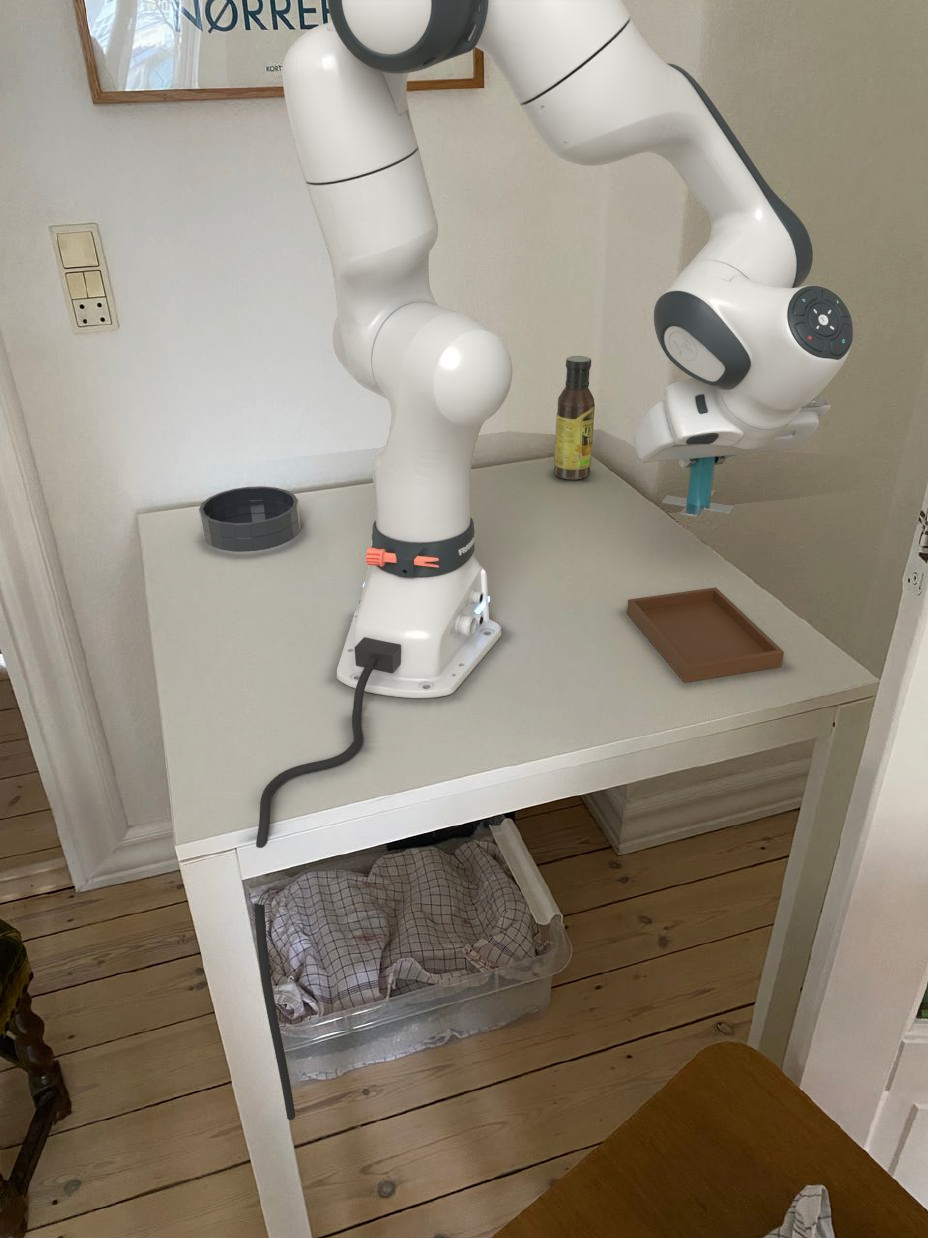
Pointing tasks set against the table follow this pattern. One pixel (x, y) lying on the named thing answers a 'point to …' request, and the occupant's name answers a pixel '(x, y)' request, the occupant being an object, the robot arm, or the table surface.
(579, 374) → the sauce bottle
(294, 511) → the bowl
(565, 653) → the table surface
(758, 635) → the tray
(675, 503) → the teal rod with crossbar
